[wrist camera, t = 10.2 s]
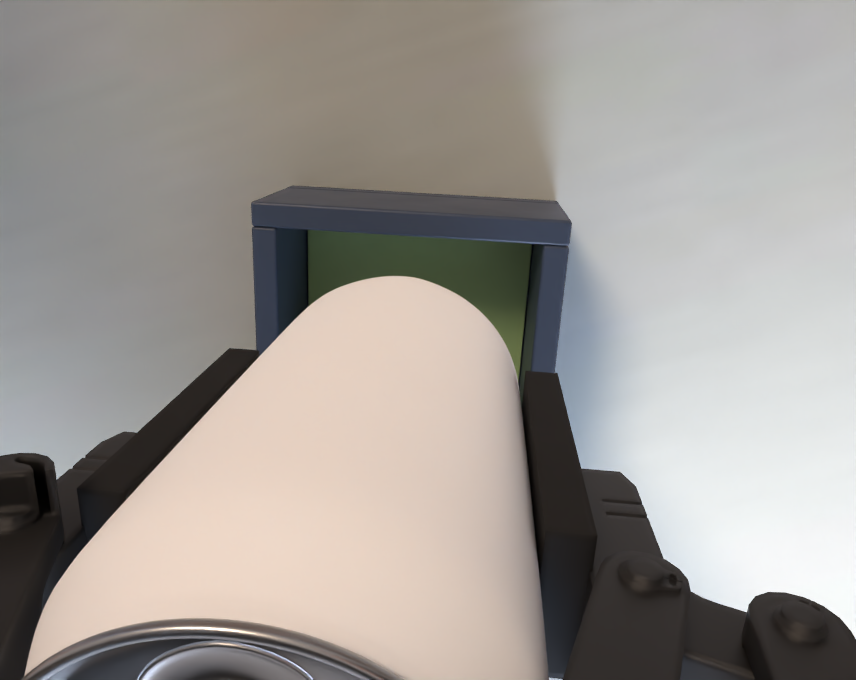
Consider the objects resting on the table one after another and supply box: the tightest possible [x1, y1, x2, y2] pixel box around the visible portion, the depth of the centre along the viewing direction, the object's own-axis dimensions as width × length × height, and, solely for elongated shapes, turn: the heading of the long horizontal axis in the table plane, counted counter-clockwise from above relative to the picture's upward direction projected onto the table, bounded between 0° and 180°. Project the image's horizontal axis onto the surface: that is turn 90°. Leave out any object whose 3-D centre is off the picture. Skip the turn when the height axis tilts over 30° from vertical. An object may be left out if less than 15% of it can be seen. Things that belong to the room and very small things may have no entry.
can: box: [21, 276, 549, 680], centre depth 12 cm, size 6×6×12 cm
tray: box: [251, 186, 572, 407], centre depth 23 cm, size 17×9×4 cm, turn 177°
